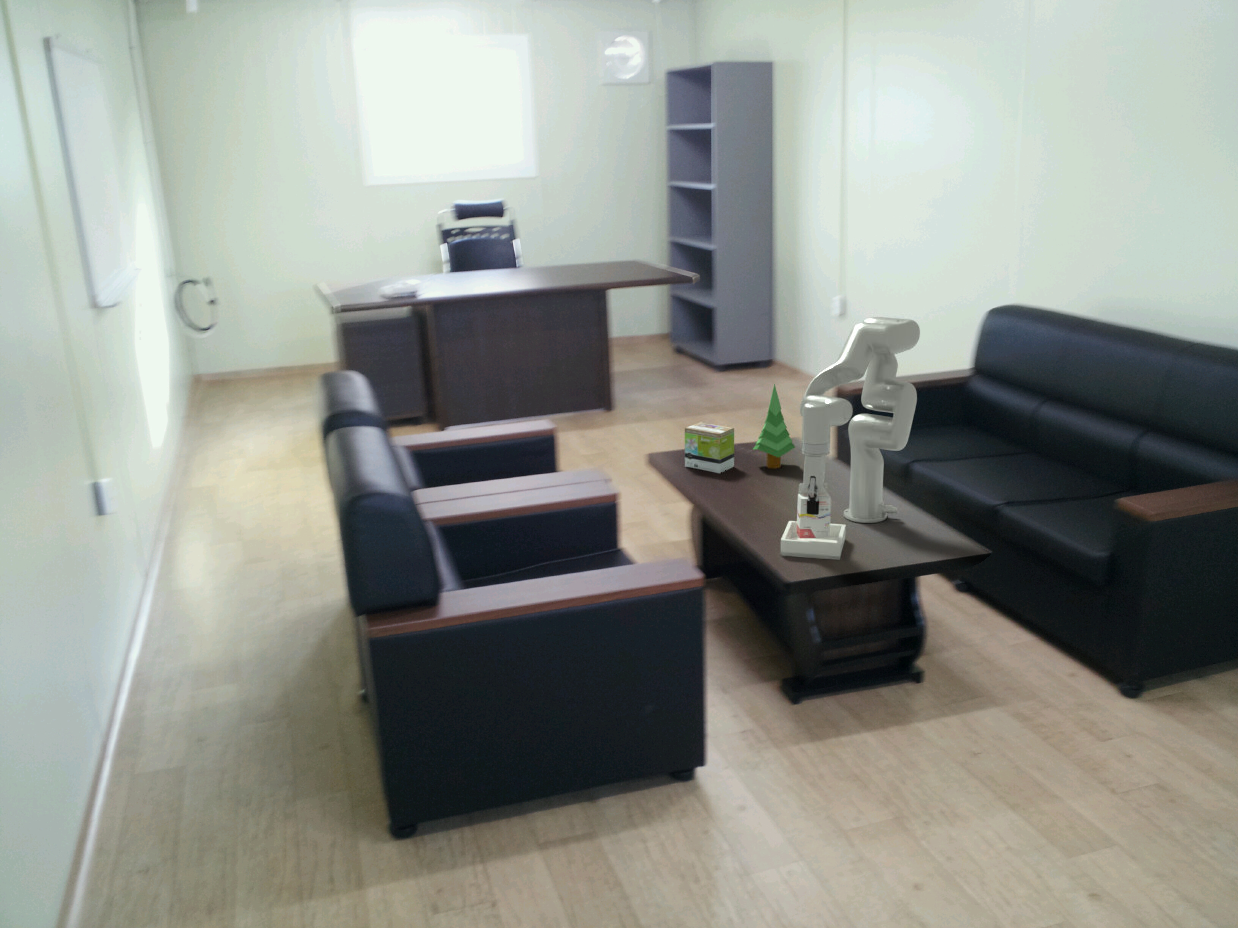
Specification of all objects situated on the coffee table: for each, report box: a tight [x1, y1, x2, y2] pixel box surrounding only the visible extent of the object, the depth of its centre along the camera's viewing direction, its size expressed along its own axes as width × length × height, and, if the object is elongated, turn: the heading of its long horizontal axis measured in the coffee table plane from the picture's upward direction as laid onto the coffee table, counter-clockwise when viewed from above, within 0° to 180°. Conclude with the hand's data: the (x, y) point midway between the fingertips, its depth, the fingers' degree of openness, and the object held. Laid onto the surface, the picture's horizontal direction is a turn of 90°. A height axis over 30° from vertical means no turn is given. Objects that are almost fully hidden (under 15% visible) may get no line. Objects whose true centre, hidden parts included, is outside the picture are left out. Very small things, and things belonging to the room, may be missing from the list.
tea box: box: [684, 421, 735, 474], centre depth 366 cm, size 15×10×15 cm
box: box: [780, 520, 847, 561], centre depth 289 cm, size 16×16×4 cm
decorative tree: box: [752, 383, 796, 469], centre depth 362 cm, size 14×16×30 cm
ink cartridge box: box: [796, 482, 832, 539], centre depth 287 cm, size 9×5×15 cm, turn 91°
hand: (814, 509), depth 287 cm, fingers closed on ink cartridge box, 6 cm apart
